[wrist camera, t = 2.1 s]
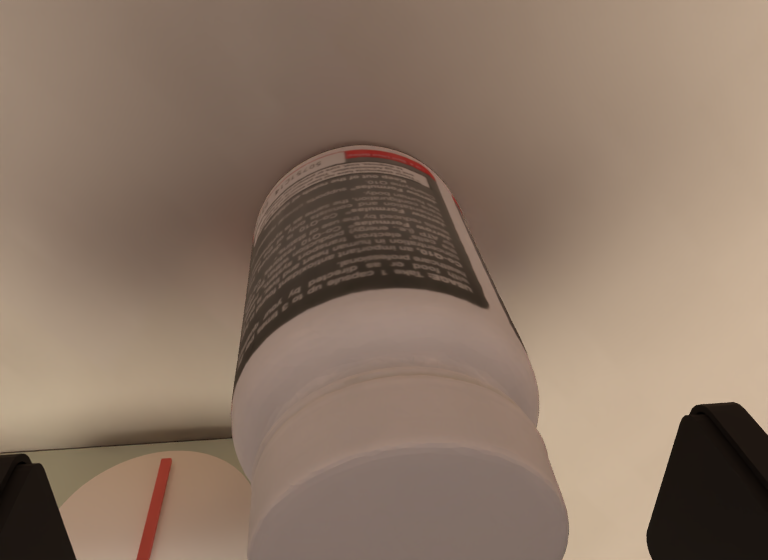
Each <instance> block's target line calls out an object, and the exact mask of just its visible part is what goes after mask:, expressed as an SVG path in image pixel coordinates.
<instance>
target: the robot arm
mask: <svg viewBox="0 0 768 560" xmlns="http://www.w3.org/2000/svg"><path fill="white" fill-rule="evenodd" d="M646 536H647V546H648V550H649V553H650V555H651V558H652V560H768V435H767V434H766V433H765V432H764V430H763V429H762V428H761V427H760V426H759V425H758V424H757V422H756V421H755V420H754V419H753V418H752V417H751V416H750V414H749V413H748V412H747V411H746V410H745V409H744V408H743V407H742V406H741V405H740V404H737V403H735V402H729V403H715V404H701V405H696V406H695V407H693V408H692V410H691V412H690V414H689V415H685V416H684V417H683V418H682V420H681V422H680V425H679V428H678V432H677V435H676V438H675V441H674V445H673V448H672V451H671V455H670V458H669V461H668V464H667V468H666V471H665V474H664V477H663V481H662V484H661V487H660V490H659V494H658V497H657V500H656V504H655V507H654V510H653V513H652V517H651V520H650V523H649V526H648V530H647V535H646ZM0 560H77V559H76V556H75V554H74V551H73V548H72V545H71V542H70V540H69V537H68V534H67V531H66V528H65V525H64V523H63V520H62V517H61V514H60V511H59V509H58V506H57V503H56V500H55V497H54V495H53V492H52V489H51V486H50V483H49V480H48V478H47V475H46V472H45V469H44V467H43V465H42V464H40V463H32V462H31V460H30V458H29V456H27V455H26V454H7V455H0Z"/></svg>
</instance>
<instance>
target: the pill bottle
mask: <svg viewBox="0 0 768 560" xmlns="http://www.w3.org/2000/svg"><path fill="white" fill-rule="evenodd" d="M538 416H539V393H538V386H537V382H536V378H535V374H534V371H533V369H532V366H531V363H530V361H529V358H528V355H527V352H526V350H525V348H524V345H523V343H522V341H521V339H520V336H519V334H518V332H517V330H516V328H515V326H514V324H513V323H512V321H511V319H510V317H509V314H508V312H507V310H506V308H505V306H504V304H503V302H502V300H501V298H500V296H499V294H498V292H497V290H496V287H495V285H494V283H493V281H492V279H491V277H490V275H489V273H488V270H487V268H486V266H485V264H484V262H483V260H482V258H481V255H480V253H479V251H478V249H477V247H476V245H475V242H474V240H473V238H472V236H471V234H470V231H469V229H468V227H467V225H466V222H465V220H464V218H463V215H462V212H461V210H460V208H459V206H458V204H457V202H456V200H455V198H454V197H453V195H452V193H451V192H450V190H449V189H448V187H447V186H446V185H445V183H444V182H443V181H442V180H441V179H440V178H439V177H438V176H437V175H436V174H435V173H434V172H433V171H432V170H431V169H430V168H428V167H427V166H426V165H424V164H423V163H422V162H420V161H418V160H416V159H415V158H413V157H411V156H409V155H407V154H404V153H401V152H399V151H396V150H392V149H388V148H384V147H378V146H369V145H356V146H347V147H341V148H336V149H333V150H329V151H326V152H323V153H321V154H318V155H316V156H314V157H312V158H310V159H308V160H306V161H304V162H303V163H301V164H299V165H297V166H296V167H295V168H293V169H292V170H291V171H289V172H288V173H287V174H286V175H285V176H283V177H282V178H281V179H280V180H279V181H278V183H277V184H276V185H275V186H274V187H273V189H272V190H271V191H270V193H269V194H268V196H267V198H266V199H265V201H264V203H263V205H262V208H261V210H260V212H259V215H258V218H257V222H256V226H255V231H254V236H253V245H252V253H251V262H250V271H249V278H248V286H247V294H246V302H245V309H244V317H243V324H242V331H241V340H240V347H239V354H238V361H237V368H236V375H235V382H234V389H233V397H232V408H231V420H232V438H233V443H234V448H235V451H236V454H237V457H238V460H239V462H240V464H241V467H242V469H243V471H244V473H245V475H246V476H247V478H248V479H249V481H250V482H251V490H252V494H251V506H250V519H249V532H248V548H247V560H562V558H563V556H564V554H565V551H566V547H567V543H568V535H569V523H568V515H567V509H566V506H565V503H564V500H563V497H562V494H561V491H560V489H559V486H558V483H557V481H556V478H555V475H554V472H553V470H552V467H551V464H550V461H549V458H548V454H547V450H546V446H545V443H544V441H543V439H542V437H541V435H540V434H539V432H538V430H537V429H536V427H537V423H538Z"/></svg>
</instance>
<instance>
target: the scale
mask: <svg viewBox="0 0 768 560" xmlns="http://www.w3.org/2000/svg"><path fill="white" fill-rule="evenodd" d="M7 454H26V455H27V456H29V458H30V460H31V462H32V463H40V464H42V465H43V467H44V469H45V472H46V475H47V478H48V480H49V483H50V486H51V489H52V492H53V495H54V497H55V500H56V503H57V506H58V509H59V511H60V514H61V517H62V520H63V523H64V525H65V528H66V531H67V534H68V537H69V540H70V542H71V545H72V548H73V551H74V554H75V556H76V559H77V560H247V548H248V532H249V519H250V506H251V494H252V490H251V482H250V481H249V479H248V478H247V476H246V475H245V473H244V471H243V469H242V467H241V464H240V462H239V460H238V457H237V454H236V451H235V448H234V443H233V438H231V439H216V440H200V441H185V442H170V443H155V444H140V445H125V446H110V447H95V448H80V449H65V450H49V451H34V452H19V453H4V454H0V455H7Z"/></svg>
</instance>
